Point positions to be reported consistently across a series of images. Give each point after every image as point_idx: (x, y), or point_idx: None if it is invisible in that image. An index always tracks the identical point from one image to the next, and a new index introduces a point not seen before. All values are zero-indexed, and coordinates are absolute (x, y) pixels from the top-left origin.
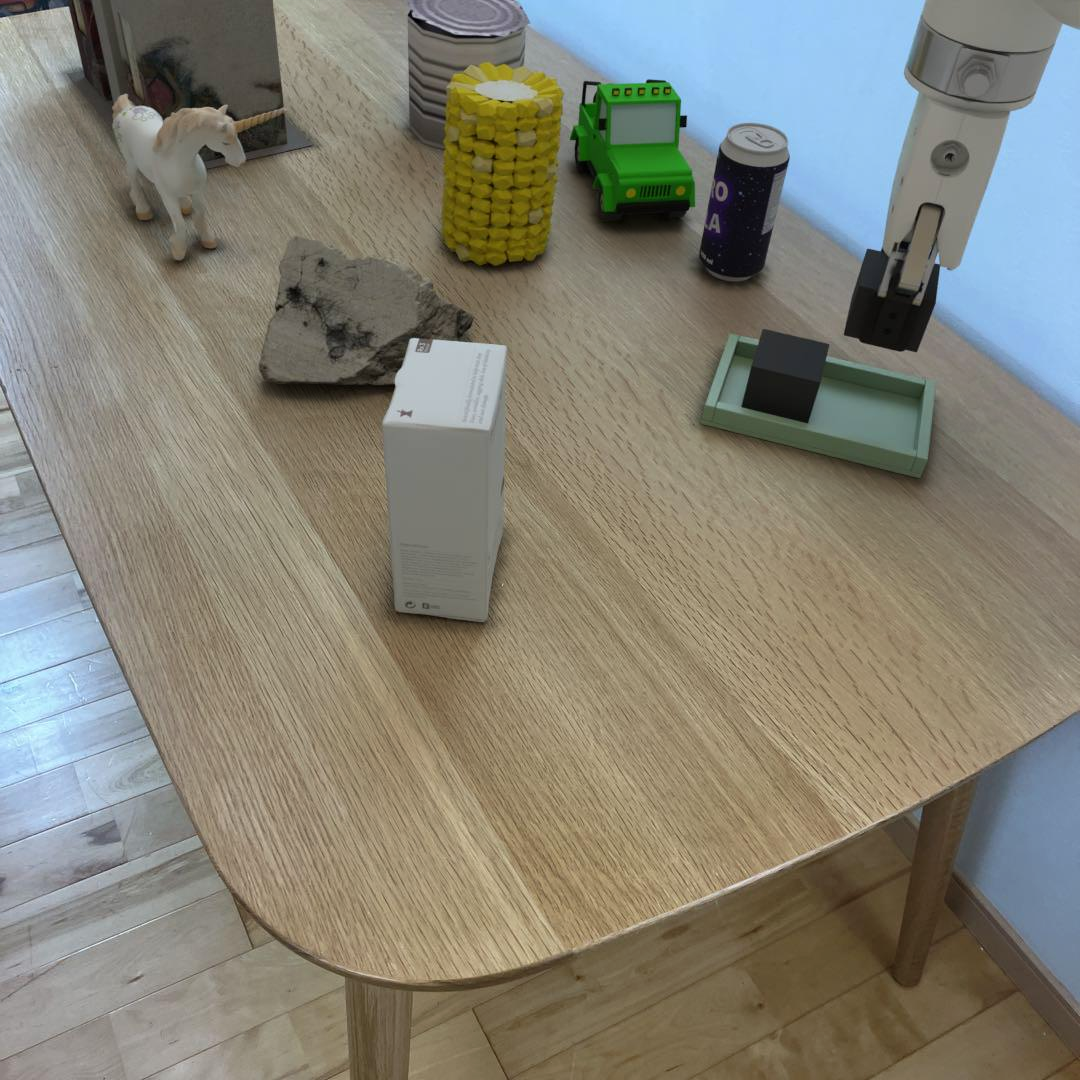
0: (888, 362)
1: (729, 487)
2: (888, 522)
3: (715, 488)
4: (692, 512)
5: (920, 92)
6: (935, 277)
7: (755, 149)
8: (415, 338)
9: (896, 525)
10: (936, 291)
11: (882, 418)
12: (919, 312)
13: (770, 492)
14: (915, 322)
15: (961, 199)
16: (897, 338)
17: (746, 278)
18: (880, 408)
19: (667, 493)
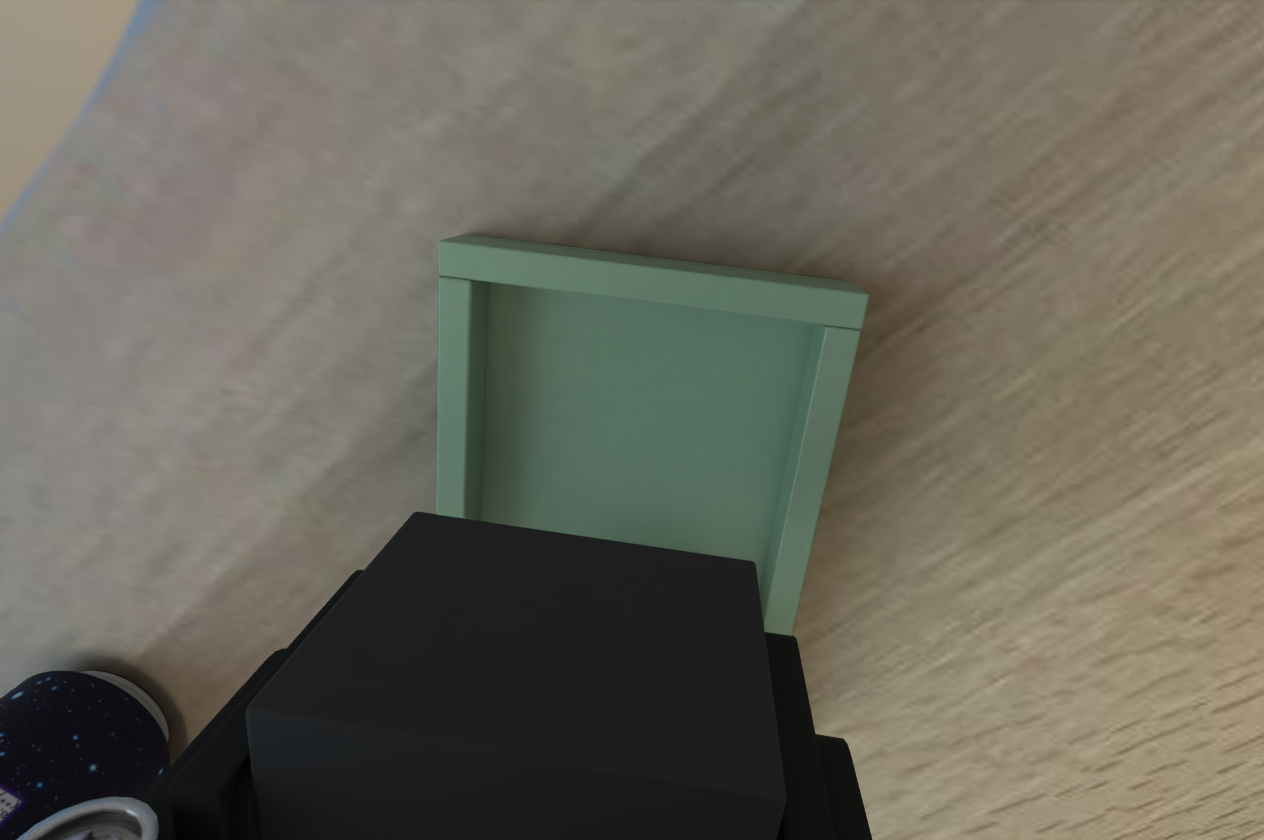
0: (326, 347)
1: (960, 730)
2: (1058, 379)
3: (968, 755)
4: (1056, 796)
5: None
6: (443, 764)
7: None
8: None
9: (1069, 358)
10: (624, 774)
11: (618, 386)
12: (831, 825)
13: (967, 651)
14: (815, 761)
15: None
16: (846, 753)
17: (135, 689)
18: (573, 390)
19: (997, 837)
